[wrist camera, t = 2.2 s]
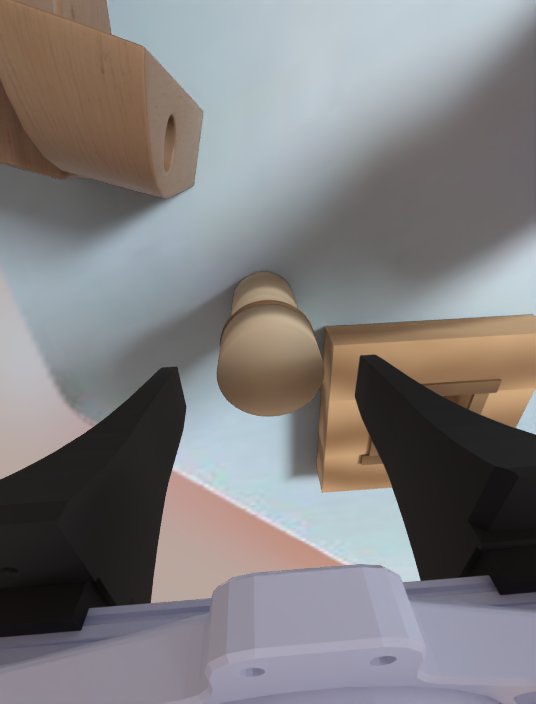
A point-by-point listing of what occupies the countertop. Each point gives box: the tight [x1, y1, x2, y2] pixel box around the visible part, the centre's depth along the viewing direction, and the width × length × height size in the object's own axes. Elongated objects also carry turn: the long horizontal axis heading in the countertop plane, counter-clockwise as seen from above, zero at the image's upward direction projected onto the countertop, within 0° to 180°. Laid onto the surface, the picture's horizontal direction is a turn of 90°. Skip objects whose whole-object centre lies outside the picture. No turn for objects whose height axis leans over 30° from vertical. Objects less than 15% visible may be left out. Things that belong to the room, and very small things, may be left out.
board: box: [317, 314, 536, 492], centre depth 23 cm, size 14×14×3 cm
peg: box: [217, 272, 325, 416], centre depth 16 cm, size 4×4×8 cm
